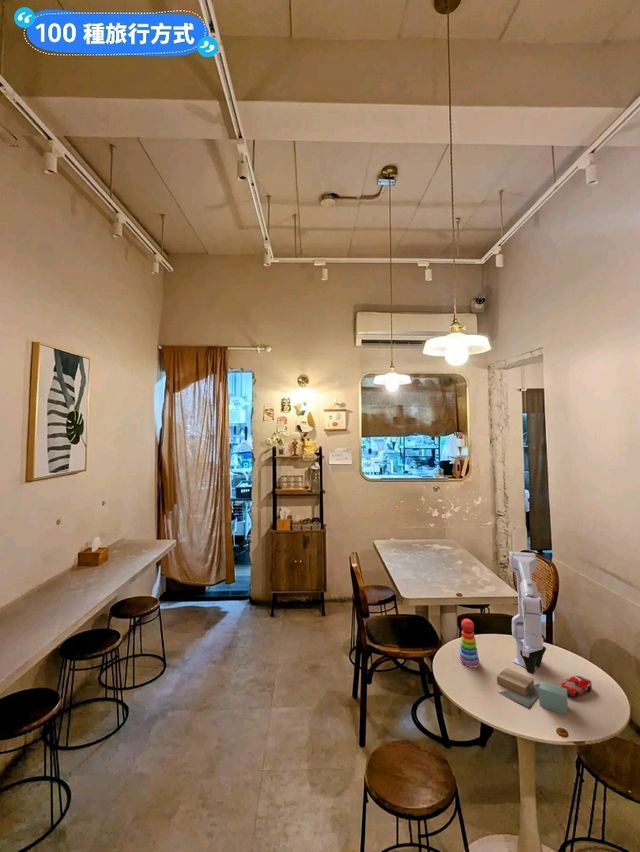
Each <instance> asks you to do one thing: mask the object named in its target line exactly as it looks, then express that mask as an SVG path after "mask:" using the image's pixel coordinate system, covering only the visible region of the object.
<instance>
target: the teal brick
mask: <svg viewBox="0 0 640 852" xmlns="http://www.w3.org/2000/svg"><path fill="white" fill-rule="evenodd" d="M539 684H540V686H539V697H538V702H539V703H538V705H539V706H540V707H543V708H546V709H548V710H552V711H555V712H557V713H560V714H564V715H567V713H568V705H569V704H568V703H569V701H568V694H567V689H565V688H562V687H561V686H558V685H555V684H552V683H549V682H546V681H542V680H540V683H539Z"/></svg>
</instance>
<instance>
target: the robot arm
mask: <svg viewBox="0 0 640 852" xmlns="http://www.w3.org/2000/svg"><path fill="white" fill-rule="evenodd" d="M508 558H509V569H510V571H511V572H513V573H514V574H515V577H516V585H517V586H516V587H517V601H518V603H517V607H518V613H517V614H516V615H514V616H513V617H512V619H511V633H512V638H514V639H515V653H516V654H515V655H516V657H515V658H514V659H513V660H512V663H513V664H516V665H519V666H521V667H523V668H525V669H526V673H528V674H531V675H535V671H536V668H538V669H540V668H541V666H542V662H543V657H544V654H545V653H546V651H547V647H545V646H544V645H543V644H544V637H542V636H543V635H542V615H543V614H544V613H543V612H544V606H543V604H544V603H543V601H542V597H541V596H540V595H539V591H538V586H537V583H535V581H534V580H533V574H534V573H535V571H536V569H537V567H538V562H537V555H536V553H534V552H522V551H521V552H520V551H512V550H511V551H509V554H508Z"/></svg>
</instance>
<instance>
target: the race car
mask: <svg viewBox="0 0 640 852" xmlns="http://www.w3.org/2000/svg"><path fill="white" fill-rule="evenodd" d="M592 685H593V684H592V681H591V680H590V679H588V678H586V677H584V676H581V675H574V676H571V677H570V678H566V681H563V682H562V683H561V685H560V687H562V688H565V689H567V695H569V696H571V697H575V698H577V697H578V696H580V695H582V694H585V693H587V692H588V693H590V692H591V690H592V688H593V687H592Z"/></svg>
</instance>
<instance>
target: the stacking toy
mask: <svg viewBox="0 0 640 852" xmlns="http://www.w3.org/2000/svg"><path fill="white" fill-rule="evenodd" d="M460 625H461V626H460V627H461V629H462V630H461V632H460V633H461V640H460V646H459V648H460V649H459V661H460V660H461V661H462V663H463V664H465V665H466V666H465V665H464V666H465V667H467V666H469V667H468V668H472V667H474V668H477V666H478V667H479V666H480V657H479V654H478V648H477V642H476V641H477V640H476V638H475V637H476V636H475V632H474V629H475V624H474V622H473V621H472V620H471V619H469V618H464V619H462V621H461V624H460ZM461 661H460V662H461ZM462 663H461V664H462ZM463 664H462V665H463Z"/></svg>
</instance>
